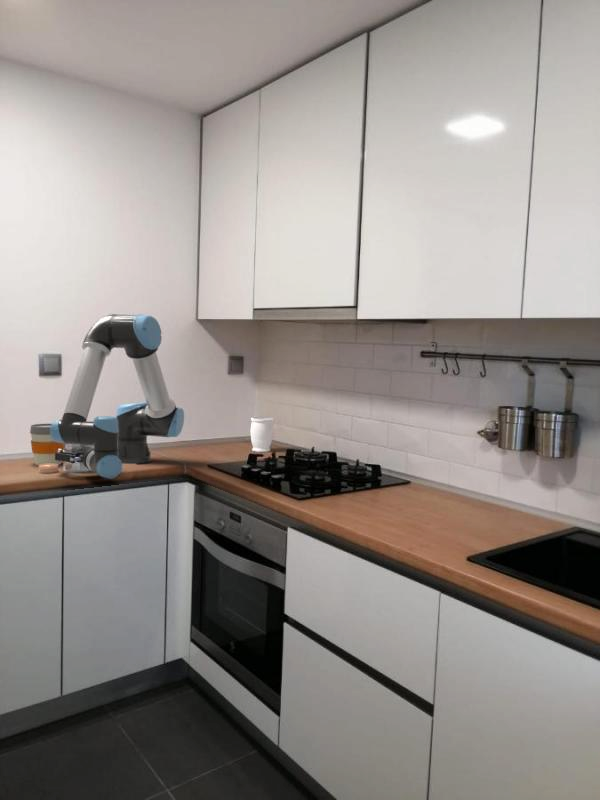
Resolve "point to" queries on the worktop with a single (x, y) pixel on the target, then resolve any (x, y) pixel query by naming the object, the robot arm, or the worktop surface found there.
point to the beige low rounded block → (48, 468)
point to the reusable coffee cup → (44, 444)
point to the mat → (75, 472)
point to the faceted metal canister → (77, 465)
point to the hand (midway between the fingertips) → (78, 451)
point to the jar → (261, 433)
